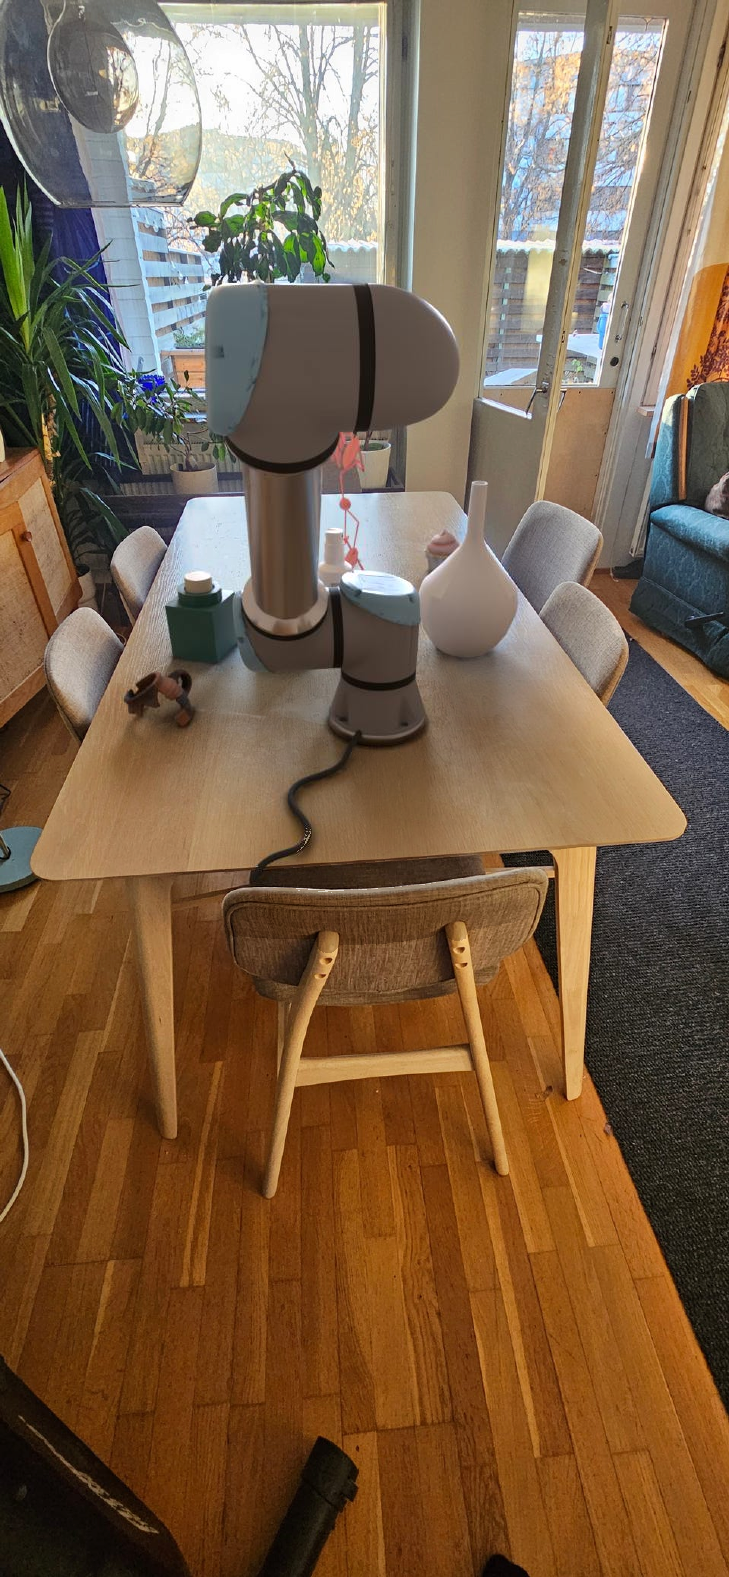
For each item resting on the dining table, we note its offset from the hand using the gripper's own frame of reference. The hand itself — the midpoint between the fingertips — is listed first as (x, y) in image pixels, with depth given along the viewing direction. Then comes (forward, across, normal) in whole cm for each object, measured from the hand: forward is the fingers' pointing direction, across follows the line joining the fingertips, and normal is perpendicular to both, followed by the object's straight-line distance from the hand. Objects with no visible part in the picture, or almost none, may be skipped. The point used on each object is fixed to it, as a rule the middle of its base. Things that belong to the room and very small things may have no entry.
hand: (281, 599), depth 128 cm
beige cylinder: (-1, 0, -15) cm, 15 cm away
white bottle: (+11, -17, +7) cm, 21 cm away
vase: (+11, -9, +33) cm, 36 cm away
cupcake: (+11, -49, +27) cm, 57 cm away
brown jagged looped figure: (+11, +24, -14) cm, 30 cm away
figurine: (+11, -47, +1) cm, 48 cm away
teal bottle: (+11, 0, -15) cm, 18 cm away
